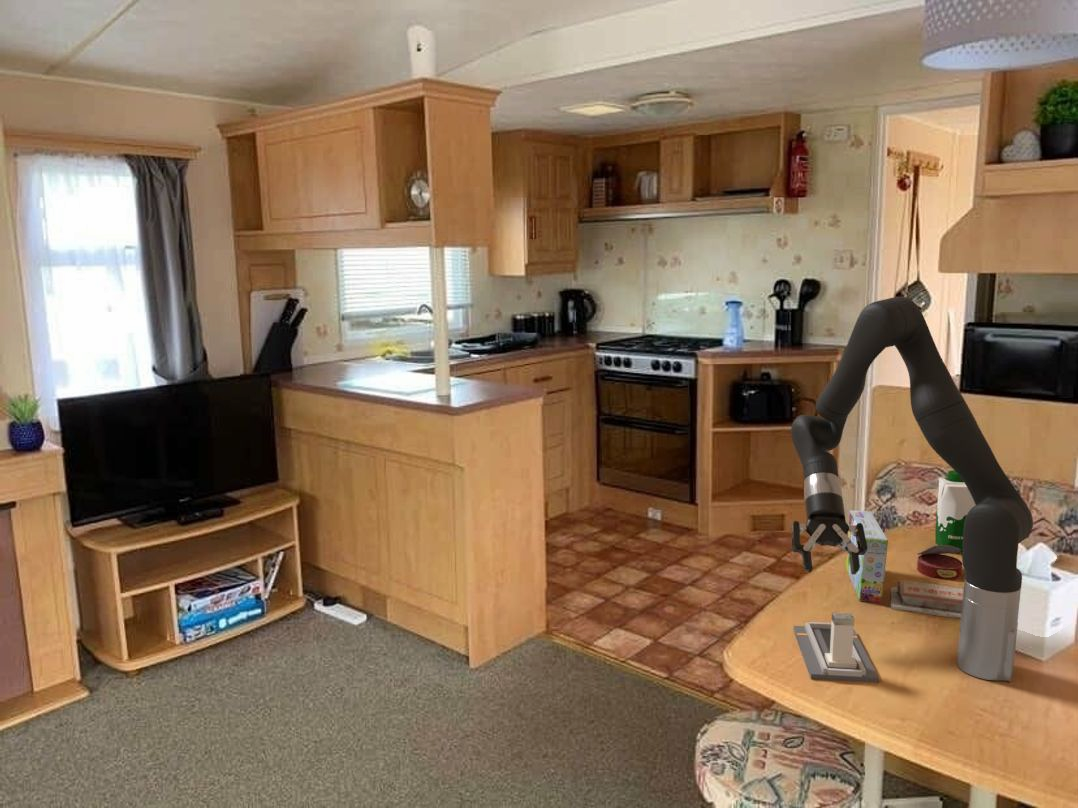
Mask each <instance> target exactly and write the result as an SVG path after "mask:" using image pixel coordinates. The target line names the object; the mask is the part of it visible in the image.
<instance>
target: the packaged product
mask: <svg viewBox="0 0 1078 808" xmlns="http://www.w3.org/2000/svg"><path fill="white" fill-rule="evenodd" d="M890 589H891V590H890V609H891V610H898V611H906V612H907V611H908V612H913V613H919V614H926V615H933V616H938V617H945V618H954V619H960V620H961V613H962V602H963V591H964V587H957V586H950V585H942V584H935V583H930V582H929V583H927V582H923V581H922V582H919V581H913V580H904V579H903V580H902V579H900V580H898V581H897V587H895V586H892V587H891V588H890Z"/></svg>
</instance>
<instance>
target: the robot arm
mask: <svg viewBox="0 0 1078 808" xmlns="http://www.w3.org/2000/svg"><path fill="white" fill-rule="evenodd" d="M891 347H895V348H896V350H897V351H898V353H899V355H900V357H901V359H902V360H903V362H904V364H905V366H906V370H907V373H908V378H909V394H910V397H909V398H910V406H911V407H910V408H911V411H912V414H913V417H914V419H915V421H916V424H917V425H918V427H919V429H920V431H921V433H922V434H923V435H922V436H923V437H924V438H925V440H926V441H927V443H928V445H929V446H930V447H931V448H932V450H933V451H934V452H935V453H936V454H937V455H938V456H939V457H940V458H941V459H942V460H943V461H944V462H945V463H946V464H947V465H948V466H949V467H951V469H952V470H953V471H956V472H957V473H958V475H959V476H960V477H961V478H962V480H963V481H964V483H965V484H966V486H967V488H968V490H969V492H970V494H971V496H972V498H973V500H974V502H975V506H974V507H973V508H971V509H970V511H969V512H968V514H967V516H966V519H965V523H964V531H963V551H962V553H961V555H962V556H961V559H962V560H961V562H962V568H964V569H963V570H964V581H963V588H964V591H963V602H962V613H961V619H960V627H959V637H958V649H957V659H956V660H957V666H958V667H959V669H960V670H961V671H962V672H964V673H966V674H968V675H970V676H972V677H975V678H979V679H982V680H986V681H987V680H988V681H997V682H998V681H1006V682H1012V678H1013V672H1014V665H1015V656H1016V648H1017V647H1016V646H1017V639H1018V638H1017V636H1018V628H1019V627H1018V625H1019V614H1020V613H1019V612H1020V603H1021V591H1022V585H1023V583H1022V582H1023V575H1022V571H1020V569H1018V568H1017V567H1018V565H1017V564H1018V551H1019V544H1020V543H1022V542H1024V541H1025V540H1027V538H1029V536H1030V534H1031V532H1032V531H1033V527H1034V519H1033V514H1032V512H1031V510H1030V508H1029V507H1028V505H1027V503H1026V501H1025V500H1024V498H1022V496H1021V494H1020V493H1019V492H1018V490H1017V489H1016V487H1015V486H1014V484H1013V483H1012V482H1011V480H1010V478H1009V477H1008V476H1007V474H1006V473H1005V471H1004V470H1003V468H1002V467H1001V465H1000V463H999V462H998V460H997V458H996V456H995V454H994V452H993V450H992V448H991V447H990V444H989V442H988V440H987V439H986V438H985V436H984V434H983V431H982V430H981V428H980V426H979V424H978V422H977V421H976V418H975V416H974V415H973V413H972V411H971V409H970V407H969V406H968V404H967V402H966V399H964V396H963V395H962V393H961V392H960V390H959V388H958V386H957V385H956V383H955V381H954V379H953V377H952V374H951V373H950V371H949V370H948V367H947V366H946V364H945V362H944V361H943V359H942V358H943V357H942V356H941V354H940V352H939V350H938V348H937V345H936V343H935V340H934V338H933V336H932V334H931V331H930V328H929V326H928V324H927V321H926V320H925V317H924V314H923V313H922V310H921V309H920V307H919V306H918V305H917V303H915V302H914V301H913V300H912V299H910V298H908V297H905V296H894V297H890V298H889V297H888V298H885V299H881V300H877V301H873V302H871V303H869V304H867V305H866V306H865V307H864V308H863V309H862V310H861V311H860V313H859V315H858V317H857V319H856V322H855V324H854V326H853V330H852V331H851V334H850V337H849V339H848V341H847V345H846V346H845V349H844V352H843V354H842V356H841V359H840V361H839V363H838V365H837V367H836V369H835V371H834V373H833V374H832V376H831V378H830V379H829V381H828V383H826V386H825V387H824V389H823V390H822V391H821V393H820V395H819V397H817V398H818V399H817V400H816V403H815V410H816V412H817V414H818V415H819V416H820V417H819V416H816V415H815V416H814V415H809V414H800V415H798V416H797V417H796V418H795V419H793V422H792V424H791V426H790V436H791V437H790V438H791V441H792V443H793V447H794V449H795V452H796V453H797V455H798V459H799V460H800V463H801V464H802V472H803V483H804V486H803V493H804V494H803V495H804V496H803V498H804V499H803V500H804V504H805V505H804V506H805V513H806V515H805V516H806V523H800V522H799V521H798V520H795V521H793V523H792V526H791V551H792V552H793V553H799V554H800V555H801V557H802V568H803V569H804V570H806V573H812V571H813V562H812V552H811V551H812V549H814V547H815V546H816V544H817V545H819V546H823V547H824V546H825V547H826V546H831V547H837V545H838V547H839V548H841V549H842V551H845V552H846V554H847V553H848V554H849V555H850V557H849V560H850V567H851V574H853V575H856V573H857V572H858V570H859V568H860V563H859V555H864V554H865V552H866V550H867V549H868V547H867V542H866V538H865V533H864V528H863V525H862V524H861V523H858V524H857V525H849V523H847V520H846V513H845V505H844V498H843V491H842V485H841V482H840V478H839V469H838V462H837V459H836V457H835V455H833V454H832V453H830V451H832V450H834V449H836V448H837V447H838V445H840V443H841V441H842V437H843V433H844V428H845V427H846V422H847V419H848V417H849V415H850V414H851V412H852V410H853V409H854V407H855V406H856V404H857V403H858V401H859V400H860V398H861V397H862V394H863V393H864V390H865V386H866V382H867V381H866V380H867V373H868V371H869V368H870V367H871V365H872V364H873V362H874V361H875V360H876V359H877V357H879V355H880V354H881V353H882V352H883V351H884V350H885V349H886V348H891ZM804 531H805V532H806V534H808V536H810V537H809V539H808V540H807V541H806V542H805V544H801V535H802V534H803V532H804ZM848 531H849V532H851V533H852V535H853V536H856V541H857V546H858V547H856V546H855V545H854V544H853V543H852V541H851V539H850V538H849V537H848Z"/></svg>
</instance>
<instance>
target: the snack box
mask: <svg viewBox="0 0 1078 808" xmlns="http://www.w3.org/2000/svg"><path fill="white" fill-rule="evenodd" d="M848 515H849V516H848V517H849V518H848V525H857V524H858V523H861V524H862V525H863V528H864V533H865V538H866V542H867V547H868V549H867V550H866V552H865V554H864V555H859V563H860V568H859V570H858V572H857V573H856V575H853V574H851V567H850V560H849V557H850V555H849V554H848V553H847V552H846V557H845V569H846V571H847V574H848V576H849V577H850V581H851V583H852V586H853V588H854V590H855V593H856V595H857V598H858V600H859V601H861V602H870V603H871V602H872V603H883V595H884V585H885V584H884V583H885V577H886V566H887V565H886V564H887V554H888V544H889V540H888V538H887V536H886V535H885V533H884V532H883V529H882V528H881V526H880V524H879V523H878V521H877V520H876V517H875V516H874V514H873V513H872V511H870V510H869V511H867V510H851V509H850V510H849V514H848ZM847 536H848V537H849V538H850V539H851V541H852V543H853V544H854V545H855V546H856V547H858V546H857V541H856V536H853V535H852V533H851V532H849V531H848V533H847Z"/></svg>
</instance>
